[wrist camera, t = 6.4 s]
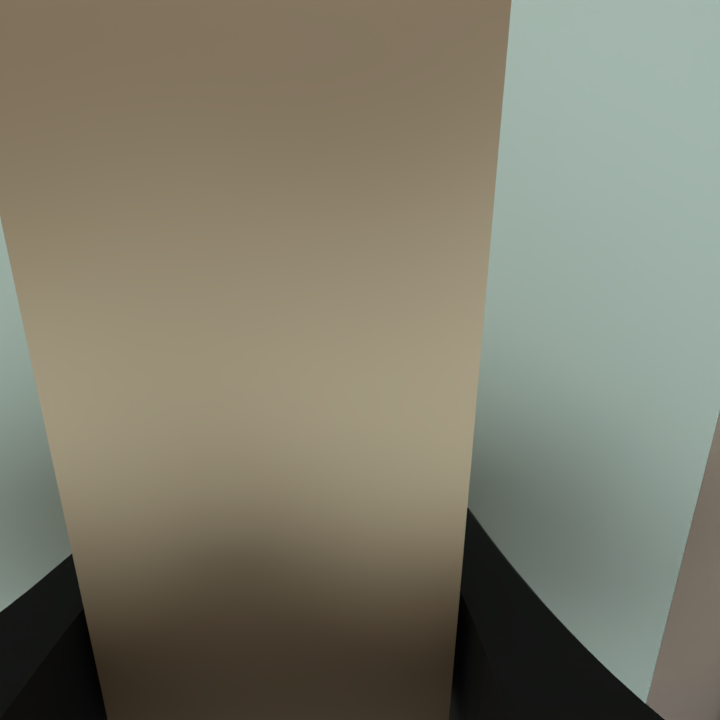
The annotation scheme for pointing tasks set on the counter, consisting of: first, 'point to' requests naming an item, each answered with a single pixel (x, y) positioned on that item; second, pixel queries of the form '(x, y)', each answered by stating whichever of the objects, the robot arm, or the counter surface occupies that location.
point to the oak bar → (257, 335)
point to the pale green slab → (548, 326)
